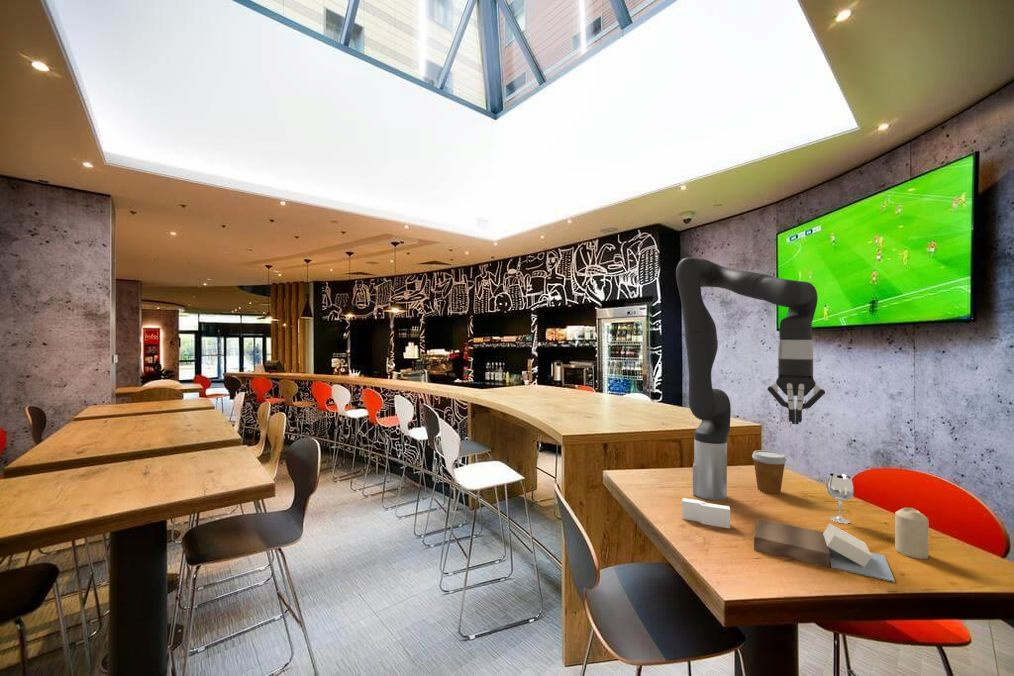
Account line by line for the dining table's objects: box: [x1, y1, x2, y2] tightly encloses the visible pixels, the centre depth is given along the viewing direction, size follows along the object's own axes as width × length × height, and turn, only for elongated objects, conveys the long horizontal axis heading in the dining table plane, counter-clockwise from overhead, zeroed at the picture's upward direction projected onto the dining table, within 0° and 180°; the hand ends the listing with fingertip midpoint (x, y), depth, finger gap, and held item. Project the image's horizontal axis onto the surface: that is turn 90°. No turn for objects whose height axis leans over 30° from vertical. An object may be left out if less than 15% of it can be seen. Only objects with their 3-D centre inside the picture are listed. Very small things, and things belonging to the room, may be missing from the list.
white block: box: [823, 523, 872, 567], centre depth 94 cm, size 7×7×3 cm
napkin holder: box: [681, 497, 731, 529], centre depth 114 cm, size 15×11×6 cm
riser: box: [753, 518, 831, 569], centre depth 99 cm, size 14×12×3 cm
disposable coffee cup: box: [751, 449, 787, 495], centre depth 136 cm, size 10×10×12 cm
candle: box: [894, 507, 930, 560], centre depth 97 cm, size 6×6×10 cm
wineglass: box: [826, 472, 855, 525], centre depth 114 cm, size 6×6×12 cm
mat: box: [828, 547, 896, 583], centre depth 93 cm, size 10×12×1 cm
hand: (795, 423), depth 110 cm, fingers closed
